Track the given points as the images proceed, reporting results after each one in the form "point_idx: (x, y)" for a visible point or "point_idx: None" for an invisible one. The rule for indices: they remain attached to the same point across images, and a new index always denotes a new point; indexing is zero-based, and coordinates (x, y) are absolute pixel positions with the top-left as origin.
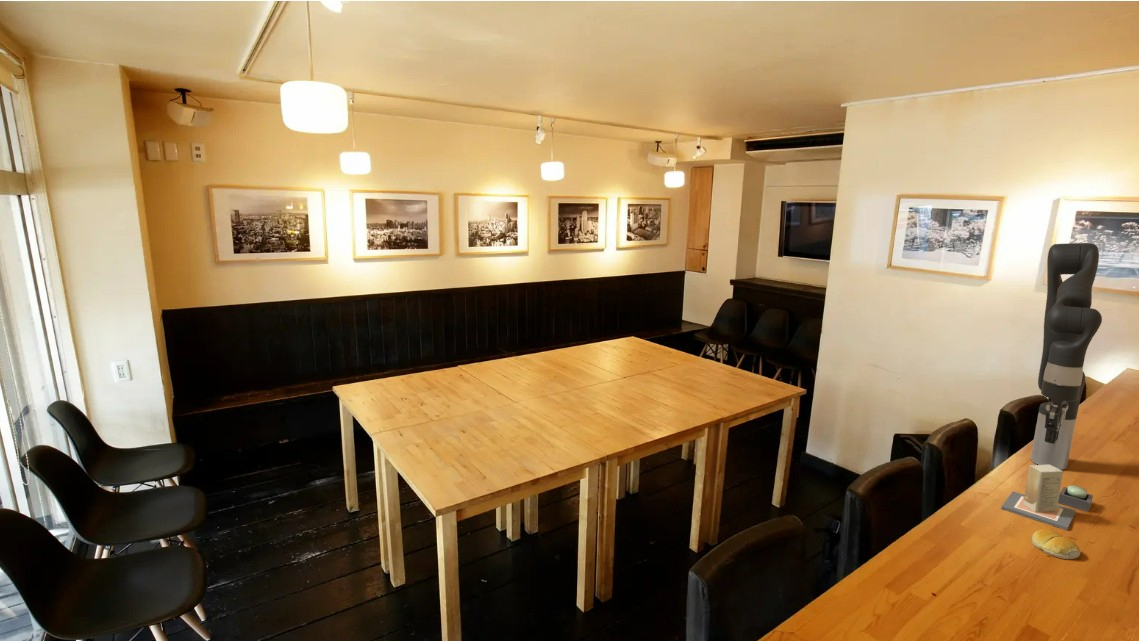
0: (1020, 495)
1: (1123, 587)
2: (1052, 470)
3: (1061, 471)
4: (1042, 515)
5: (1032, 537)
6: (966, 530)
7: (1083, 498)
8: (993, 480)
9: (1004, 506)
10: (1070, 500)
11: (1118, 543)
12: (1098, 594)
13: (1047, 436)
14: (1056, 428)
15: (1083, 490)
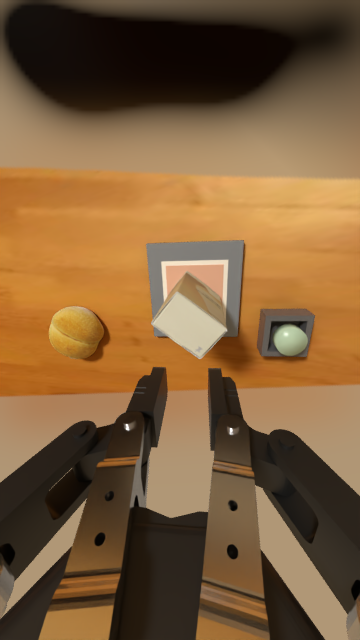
0: (231, 257)
1: (59, 390)
2: (183, 341)
3: (196, 356)
4: None
5: (63, 309)
6: (7, 224)
7: None
8: (293, 188)
9: (149, 248)
10: (262, 329)
11: (172, 382)
12: (18, 375)
13: (135, 392)
14: (71, 477)
15: (291, 350)
